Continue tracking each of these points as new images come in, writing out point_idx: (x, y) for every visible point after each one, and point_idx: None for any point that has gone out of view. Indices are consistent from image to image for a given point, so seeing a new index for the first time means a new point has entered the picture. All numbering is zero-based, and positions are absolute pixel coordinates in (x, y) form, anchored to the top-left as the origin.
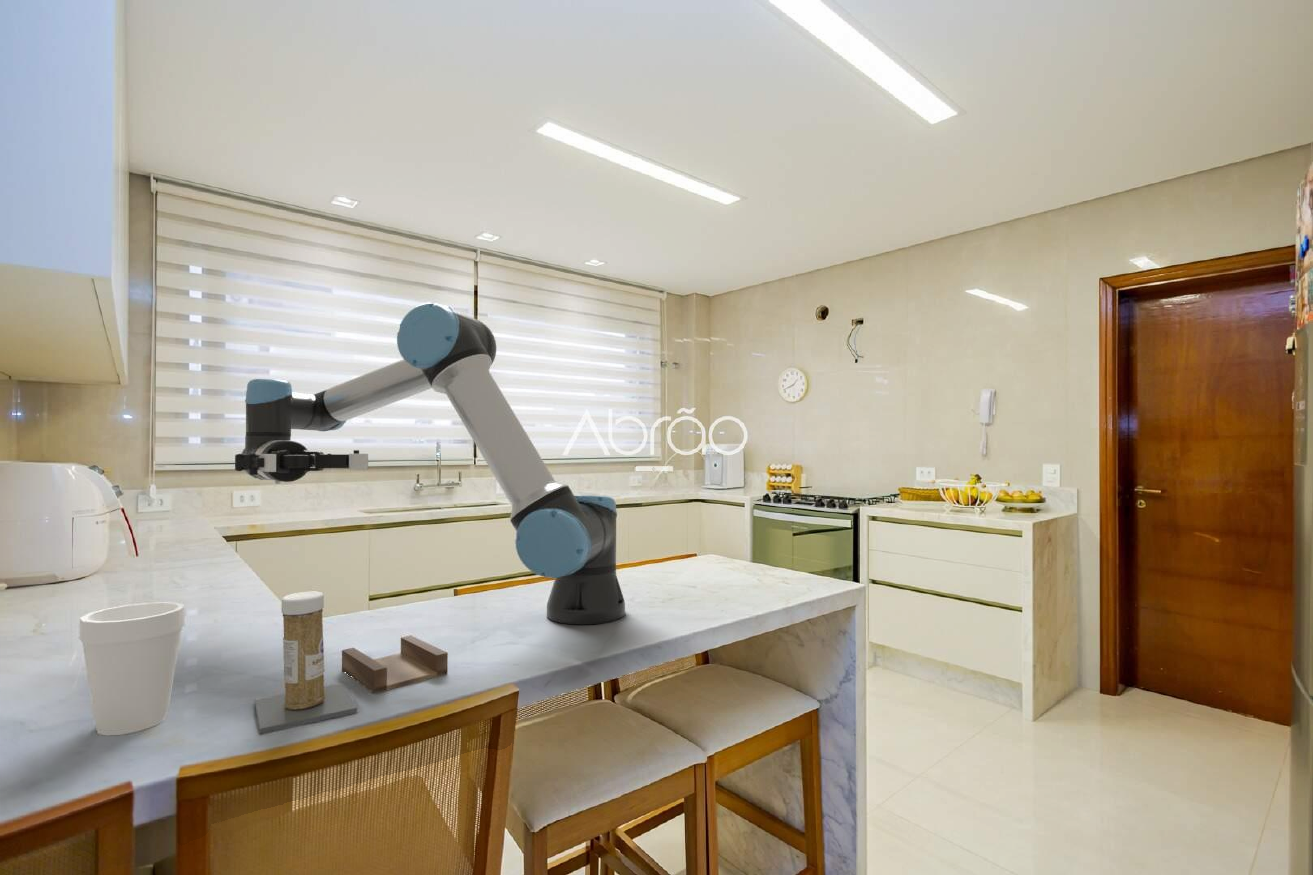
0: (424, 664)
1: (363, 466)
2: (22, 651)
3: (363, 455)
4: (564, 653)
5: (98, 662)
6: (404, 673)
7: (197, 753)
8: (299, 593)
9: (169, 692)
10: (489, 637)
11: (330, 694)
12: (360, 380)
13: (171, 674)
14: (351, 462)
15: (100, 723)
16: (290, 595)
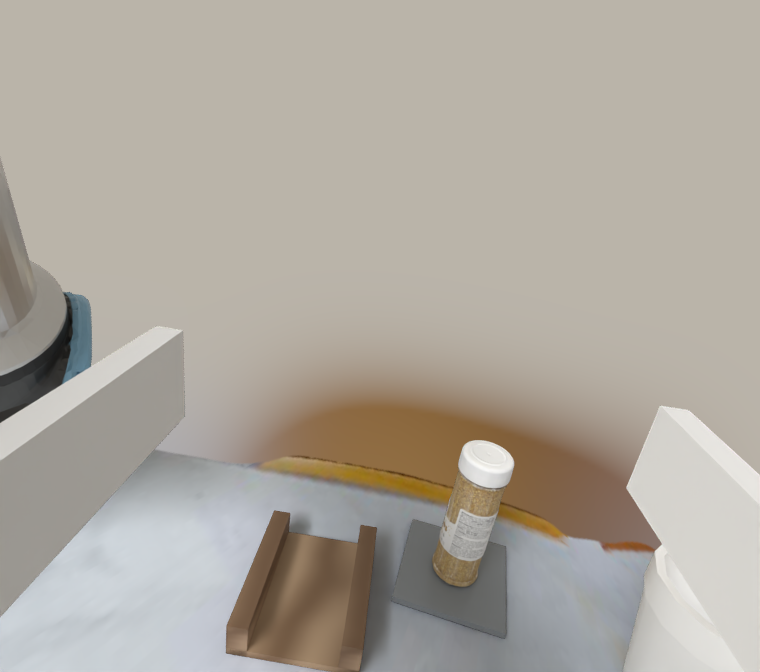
0: (277, 562)
1: (181, 399)
2: None
3: (182, 339)
4: (131, 477)
5: None
6: (316, 560)
7: (558, 556)
8: (491, 463)
9: (626, 666)
10: (60, 616)
11: (420, 571)
12: None
13: (632, 638)
14: (36, 516)
15: None
16: (503, 462)
